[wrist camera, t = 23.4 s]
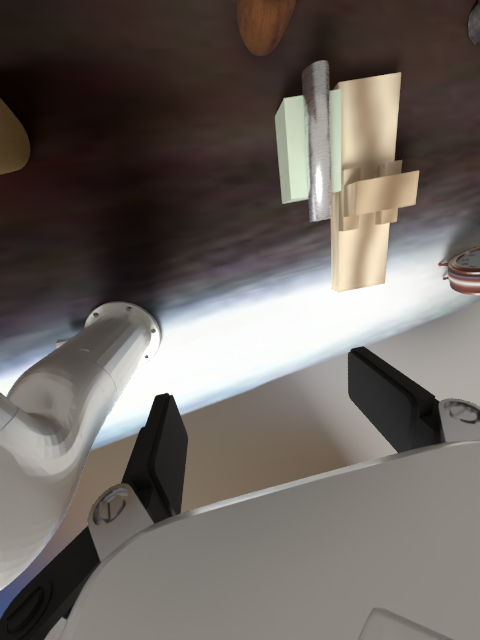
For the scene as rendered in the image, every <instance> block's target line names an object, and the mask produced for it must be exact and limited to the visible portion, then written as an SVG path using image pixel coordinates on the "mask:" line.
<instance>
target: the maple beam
mask: <svg viewBox="0 0 480 640" xmlns="http://www.w3.org/2000/svg"><path fill="white" fill-rule="evenodd" d="M400 82H401V72H399V73H393V74H387V75H381V76H375V77H369V78H362V79H356V80H350V81H344V82H338V84H337V85H336V86H335V87H334V89H333V90H338V89H341V191H339V192H336V193H333V194H332V217H333V218H331V269H332V289H333V290H335V291H337V292H342V291H347V290H352V289H358V288H363V287H368V286H373V285H378V284H383V283H385V274H386V261H387V248H388V235H389V223H392V222H397V212H398V208H399V207H405V206H410V205H415V202H416V193H417V185H418V176H419V171H414V172H408V173H403V174H401V167H402V160H399V161H394V159H395V146H396V133H397V121H398V108H399V95H400Z"/></svg>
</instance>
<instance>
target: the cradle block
mask: <svg viewBox="0 0 480 640" xmlns="http://www.w3.org/2000/svg"><path fill="white" fill-rule="evenodd" d="M275 124H276V136H277V148H278V159H279V171H280V183H281V194H282V204H284V203H289V202H295V201H301V200H306V199H308V182H307V164H306V146H305V128H304V110H303V95H301V96H295V97H289V98H284V99H283V101H282V103H281V105H280V107H279V109H278V111H277V113H276V115H275ZM330 128H331V173H332V194H333V193H336V192H339V191H341V89H338V90H332V91H330Z"/></svg>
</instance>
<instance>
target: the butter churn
mask: <svg viewBox="0 0 480 640" xmlns="http://www.w3.org/2000/svg"><path fill="white" fill-rule="evenodd" d="M468 32H469V36H470V39H471V40H472V41H473V43H474V44H476V43H478V42H479V43H480V0H478V4H477V5H476V6H475V7H474V9H473V10H472V12H471V14H470V17H469V22H468Z"/></svg>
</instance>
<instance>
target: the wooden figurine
mask: <svg viewBox="0 0 480 640" xmlns="http://www.w3.org/2000/svg"><path fill="white" fill-rule="evenodd" d="M296 1H297V0H238V1H237V10H236V13H237V21H238V26H239V31H240V35H241V38H242V40H243V42H244V44H245V45H246V47H247V49H248V50H249V51H250V52H251V53H252V54H253V55H256V56H260V57H261V56H265V55H268V54H270V53H271V52H272V51H273V50H274V49H275V48H276V46H277V45H278V44H279V42H280V40H281V38H282V36H283V35H284V33H285V30H286V28H287V26H288V24H289V21H290V19H291V17H292V14H293V11H294V8H295V5H296Z"/></svg>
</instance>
